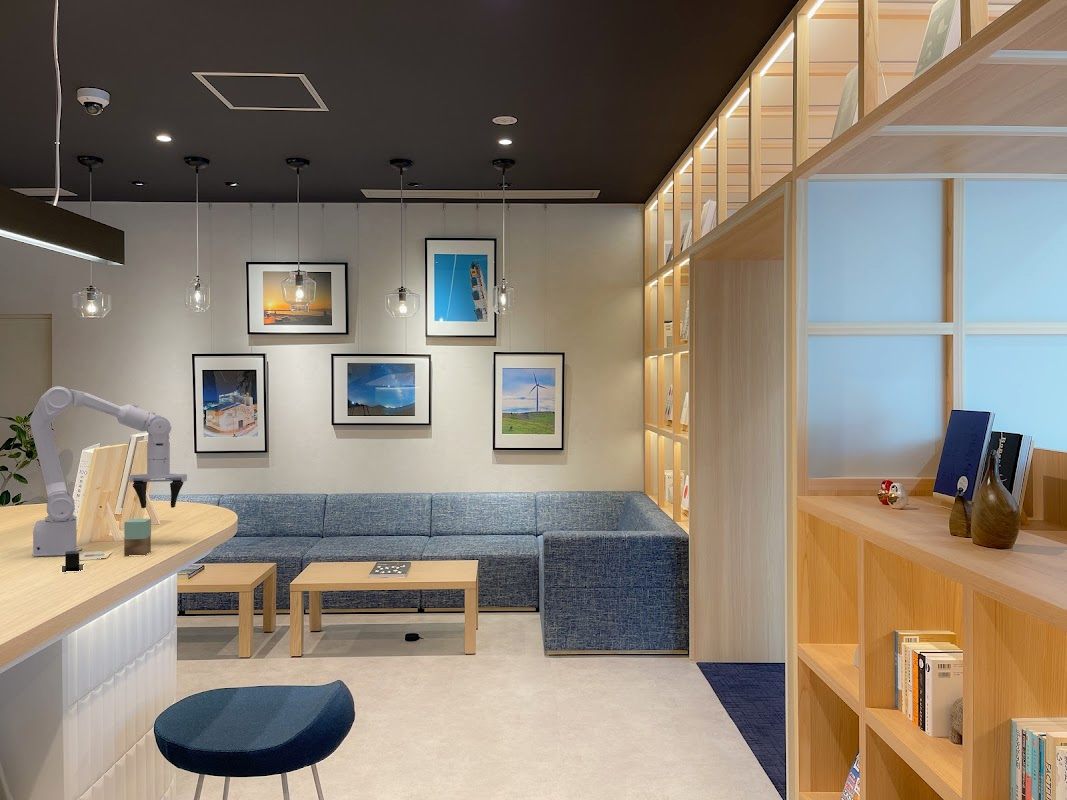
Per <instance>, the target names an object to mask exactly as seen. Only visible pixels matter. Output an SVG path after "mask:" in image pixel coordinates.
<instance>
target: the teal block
mask: <svg viewBox="0 0 1067 800" xmlns="http://www.w3.org/2000/svg"><path fill="white" fill-rule="evenodd" d="M123 527H124V535H123V536H124V539H146V538H147V537H149V536H151V537H152V519H151V518H130V519H128V520H126V521H124V526H123Z"/></svg>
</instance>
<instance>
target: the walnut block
mask: <svg viewBox="0 0 1067 800" xmlns="http://www.w3.org/2000/svg"><path fill="white" fill-rule="evenodd" d="M151 539H152V535H151V536H149V537H147V538H146V539H124V541H123V543H124V544H123V545H124V546H123V547H124V553H123V554H124V555H123V556H124V557H130V556H129V555H145V556H147V555H148V554H150V553H151V552H152V550H151V549H152V547H151V545H152V543H151V542H152V540H151ZM150 551H151V552H150ZM149 552H150V553H149ZM147 553H148V554H147ZM146 554H147V555H146Z"/></svg>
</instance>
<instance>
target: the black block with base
mask: <svg viewBox="0 0 1067 800" xmlns="http://www.w3.org/2000/svg"><path fill="white" fill-rule="evenodd" d="M64 557H65V558H64V559H65V562H64V563H65V564H64V565H65V566H64V565H61V566H62V572H66V571H79V570H80V571H81V570H83V565H84V564H85V563H80V561H79V557H80V551H79V550H77V551H66V553H65V555H64Z"/></svg>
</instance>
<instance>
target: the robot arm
mask: <svg viewBox="0 0 1067 800" xmlns="http://www.w3.org/2000/svg"><path fill="white" fill-rule="evenodd" d="M37 401H38V402H37V404H36V405H35V408H34V409H33V411H32V414H31V416H30V418H29V427H30V431H31V434H32V438H33V442H34V444H35V449H36V454H37V457H38V462H39V465H40V470H41V473H42V477H43V478H42V479H43V481H44V485H45V490H46V495H47V498H48V499H47V503H46V513H47V516H45V518H44V519H43V520H42V519H41V520H37V521H36V522H35V523H34V526H33V531H32V553H33V554H31V557H53V556H54V557H55V556H57V557H58V556H65V553H66V551H77V550H79V552H80V551H81V550H83V547H77V544H78V543H77V531H78V529H77V525H78V524H77V522H78V521H77V516H76V515H74V512H75V509H76V505H75V499H74V498H73V496H72V495H71V494H70V493H69V491H68V488H67V485H66V481H65V477H64V473H63V469H62V465H61V460H60V457H59V452H58V448H57V445H56V440H55V436H54V432H53V429H52V423H53V422H54V421H55V419H56V418H57V417H58V415H59V414H61V413H62V412H64V411H65V410H66V409H69V408H70V406H71V405H72V404H73V405H72V407H73V408H83V407H86V408H90V409H92V410H95V411H98V412H101V413H105V414H108V415H109V416H110V415H111V416H112V417H116V418H117V421H118V423H119V424H120V425H123V426H125V427H129V428H131V429H134V430H137V431H139V432H143V433H144V432H147V433H148V434H147V443H146V472H147V473H146V474H145V473H143V474H142V473H141V474H131V475H129V478H128V481H129V483H133V484H132V488H133V489H134V490H135V492H136V495H137V498H138V499H139V503H140V508H141V509H146V508H147V487H148V486H147V485H148V483H155V482H158V483H161V482H162V483H163V482H164V483H165V482H170V483H169V486H170V508H171V509H174V508H175V507H176V504H177V499H178V496H179V493H180V491H181V489H182V487H183V485H184V483H185V482H187V481H188V474H187V473H171V471H170V468H171V466H170V465H171V464H170V462H171V460H170V459H171V450H170V449H171V447H170V445H171V444H170V433H171V431H172V426H171V422H170V421H169V420H168V418H167V417H164V416H161V415H158V414H157V413H156V412H155V411H151V412H150V411H148V410H146V409H143V408H140V407H139V405H137V404H135V403H133V404H130V403H129V404H124V405H123V406H120V405H117V404H115V403H114V402H111V401H108V400H105V399H103V398H100V397H98V396H96V395H94V394H91V393H88V392H85V391H81V390H76V389H72V388H71V389H69V388H67V387H63V386H53V387H51V388H49V389H48V390H46V391H45V392H44V393H43V394H42V395H41V396H40V398H39V400H37ZM156 414H157V415H156Z"/></svg>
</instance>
